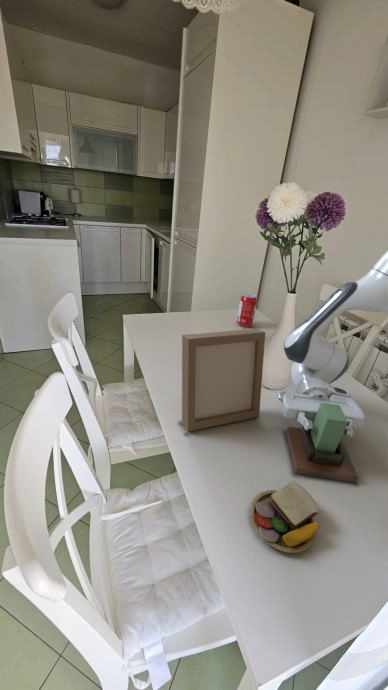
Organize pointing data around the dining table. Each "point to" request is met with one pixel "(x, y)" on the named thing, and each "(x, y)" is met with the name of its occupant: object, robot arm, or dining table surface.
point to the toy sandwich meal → (285, 517)
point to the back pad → (328, 428)
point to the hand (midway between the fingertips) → (329, 431)
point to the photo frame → (221, 377)
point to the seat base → (318, 458)
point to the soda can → (247, 309)
